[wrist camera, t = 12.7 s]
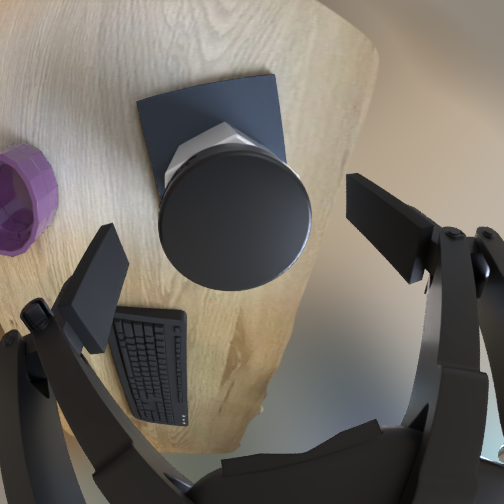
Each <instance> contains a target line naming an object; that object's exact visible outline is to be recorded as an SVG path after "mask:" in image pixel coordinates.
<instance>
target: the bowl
mask: <svg viewBox="0 0 504 504" xmlns="http://www.w3.org/2000/svg"><path fill="white" fill-rule="evenodd" d="M57 206H58V185H57V182H56V179H55V176H54V173H53V170H52V167H51V165H50V164H49V162H48V161H47V160H46V158H45V157H44V156H43V154H42V153H41V152H40V151H39V150H37V149H35V148H33V147H32V146H30V145H28V144H12V145H9V146H7V147H4V148H2V149H0V254H1V255H6V256H11V257H14V256H17V255H20V254H22V253H25V252H26V251H27V250H28V249H29V248H30V246H31V245H32V244H33V243H34V242H35V241H36V239H37V238H38V237H39V236H40V235H41V234H42V233H43V232H44V230H45V229H46V228H47V227H48V226H49V225H50V224H51V223H52V221H53V219H54V215H55V212H56V209H57Z"/></svg>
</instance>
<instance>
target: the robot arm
mask: <svg viewBox="0 0 504 504" xmlns="http://www.w3.org/2000/svg"><path fill="white" fill-rule="evenodd" d="M346 218H347V219H348V220H349V221H350V222H351V223H352V224H353V225H354V226H355V227H356V228H357V229H358V230H359V231H360V232H361V233H362V234H363V235H364V236H365V237H366V238H367V239H368V240H369V241H370V242H371V243H372V244H373V245H374V247H375V248H376V249H377V250H378V251H379V252H380V253H381V254H382V255H383V256H384V257H385V258H386V259H387V260H388V261H389V262H390V264H392V266H393V267H394V268H395V269H396V270H397V271H398V272H399V274H400V275H401V276H402V277H403V278H404V279H405V280H406V281H407V283H409V284H412V283H415V282H418V281H420V280H422V278H423V274H424V270H425V269H426V270H427V271H428V272H429V273H430V275H429V278H428V282H427V285H426V289H425V294H426V293H427V301H426V311H425V321H424V329H423V336H422V343H421V349H420V355H419V361H418V366H417V372H416V376H415V381H414V385H413V390H412V394H411V398H410V402H409V406H408V409H407V412H406V414H405V416H404V419H403V421H402V423H401V425H400V426H397V425H385V426H379V424H378V422H377V420H376V419H374V420H372V421H369V422H367V423H364V424H361V425H359V426H356V427H353V428H351V429H348V430H345V431H342V432H340V433H338V434H337V435H335V436H334V437H332V438H330V439H329V440H327V441H325V442H324V443H322V444H320V445H318V446H317V447H315V448H313V449H311V450H309V451H307V452H305V453H298V454H255V455H249V456H243V457H237V458H231V459H223V460H221V462H222V468H219V469H217V470H215V471H213V472H211V473H209V474H207V475H206V476H204V477H203V478H201V479H200V480H199V481H198V482H196V483H195V484H193V483H192V482H191V481H190V480H189V479H187V478H186V477H185V476H184V475H182V474H181V473H179V472H178V471H177V470H176V469H175V468H174V467H173V466H172V465H171V464H170V463H169V462H168V461H167V460H166V459H165V458H164V457H163V456H162V455H161V454H160V453H159V452H158V451H157V450H156V449H155V448H154V447H153V446H152V445H151V444H150V442H149V441H148V440H147V439H146V438H145V437H144V436H143V435H142V433H141V432H140V431H139V430H138V429H137V428H136V426H135V425H134V424H133V423H132V422H131V420H130V419H129V418H128V417H127V416H126V414H125V413H124V412H123V411H122V409H121V408H120V407H119V405H118V404H117V403H116V401H115V400H114V399H113V397H112V396H111V395H110V393H109V392H108V391H107V389H106V388H105V386H104V385H103V384H102V382H101V381H100V379H99V378H98V376H97V375H96V373H95V372H94V370H93V369H92V367H91V366H90V364H89V363H88V361H87V359H86V358H85V357H84V355H83V354H82V353H81V352H82V348H83V346H84V347H85V348H86V349H87V351H88V352H89V353H90V354H99V353H105V349H106V345H107V341H108V337H109V333H110V329H111V325H112V321H113V317H114V314H115V310H116V306H117V303H118V299H119V296H120V293H121V289H122V286H123V283H124V279H125V276H126V273H127V270H128V267H129V262H128V259H127V257H126V255H125V252H124V250H123V247H122V245H121V243H120V240H119V238H118V235H117V232H116V230H115V227H114V225H113V223H110V224H107V225H103V226H101V227H100V229H99V230H98V232H97V233H96V235H95V237H94V238H93V240H92V242H91V243H90V245H89V247H88V248H87V250H86V252H85V253H84V255H83V257H82V259H81V261H80V262H79V264H78V266H77V268H76V270H75V271H74V273H73V275H72V276H71V277H70V278H69V279H68V280H67V281H66V282H65V283H64V285H63V287H62V289H61V292H60V293H59V295H58V298H57V299H56V301H55V303H54V305H53V307H52V309H51V310H50V308H49V307H48V305H47V304H46V302H45V301H44V299H43V298H36V299H34V300H32V301H30V302H29V303H28V304H27V305H26V306H25V307H24V308H23V309H22V311H21V314H20V318H21V320H22V321H23V322H24V324H25V325H26V327H27V328H28V329H29V331H30V332H31V333H30V334H28V335H26V336H23V337H22V336H21V334H20V333H19V332H18V331H17V330H14V329H13V330H11V331H9V332H8V333H6V334H5V335H4V336H3V337H2V339H1V341H0V468H1V474H2V479H3V484H4V489H5V494H6V498H7V502H8V504H86V502H85V499H84V497H83V494H82V492H81V489H80V486H79V484H78V481H77V478H76V475H75V472H74V469H73V467H72V463H71V460H70V457H69V453H68V450H67V446H66V442H65V439H64V435H63V431H62V426H61V422H60V417H59V412H58V407H57V402H58V404H59V406H60V408H61V410H62V412H63V414H64V416H65V418H66V420H67V422H68V424H69V426H70V428H71V430H72V432H73V433H74V435H75V437H76V439H77V441H78V442H79V444H80V446H81V447H82V449H83V451H84V452H85V454H86V456H87V457H88V459H89V460H90V462H91V463H92V465H93V467H94V469H95V473H94V474H92V476H93V480H94V481H95V483H96V485H97V486H98V488H99V489H100V490H101V492H102V494H103V495H104V496H105V497H106V499H107V500H108V502H109V503H110V504H504V465H503V464H500V463H497V462H495V461H492V460H489V459H486V458H483V457H481V456H480V455H481V451H482V445H483V438H484V432H485V424H486V415H487V404H488V388H489V380H488V375H487V374H486V373H483V372H480V338H479V326H480V329H481V332H482V336H483V339H484V343H485V347H486V351H487V354H488V358H489V362H490V367H491V372H492V377H493V382H494V387H495V393H496V398H497V406H498V412H499V418H500V424H501V428H502V432H503V436H504V241H503V240H502V238H501V237H500V236H499V234H498V233H497V232H496V231H494V230H493V229H491V228H489V227H479V228H477V231H476V235H475V237H466V235H465V234H464V233H463V232H462V231H461V230H459V229H457V228H454V227H443V228H442V227H440V226H439V225H437V224H436V223H435V222H434V221H432V220H431V219H430V218H428V217H426V215H424V214H423V213H421V212H420V211H419V210H417V209H416V208H414V207H412V206H409V205H407V204H405V203H403V202H402V201H400V200H399V199H397V198H396V197H394V196H393V195H391V194H390V193H388V192H387V191H385V190H384V189H382V188H381V187H379V186H378V185H376V184H374V183H373V182H372V181H370V180H368V179H367V178H365V177H363V176H362V175H360V174H359V173H354V174H346ZM488 274H489V276H488ZM56 400H57V402H56ZM498 453H499V454H498V457H499V460H500V461H501V462H504V445H503V446H502V447H501V448H500V450H499V452H498Z"/></svg>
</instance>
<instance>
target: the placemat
mask: <svg viewBox="0 0 504 504" xmlns="http://www.w3.org/2000/svg"><path fill="white" fill-rule="evenodd" d="M137 106H138V111H139V115H140V120H141V124H142V129H143V133H144V137H145V141H146V145H147V150H148V154H149V158H150V161H151V165H152V169H153V173H154V177H155V180H156V184H157V188H158V191H159V195H160V198H161V200H162V196H163V193H164V191H165V173H166V171H167V168H168V166H169V164H170V162H171V160H172V158H173V156H174V154H175V152H176V150H177V148H178V146H180V145H181V144H183V143H185V142H187V141H188V140H190V139H192V138H194V137H196V136H198V135H199V134H201V133H203V132H205V131H207V130H209V129H211V128H213V127H215V126H217V125H219V124H221V123H223V122H227V123H228V124H230V125H232V126H233V127H235V128H236V129H238V130H240V131H241V132H243V133H244V134H246V135H247V136H249V137H251V138H252V139H254V140H255V141H257V142H258V143H260V144H261V145H263V146H264V147H266V148H267V149H268V150H270V151H271V152H272V153H273V154H275V155H276V156H277V157H278V158H279V159H281V160H282V161H283V162H284V163H285V164H287V163H286V154H285V145H284V137H283V129H282V121H281V113H280V106H279V99H278V92H277V85H276V78H275V74H271V75H261V76H253V77H245V78H238V79H231V80H225V81H219V82H213V83H208V84H203V85H198V86H193V87H189V88H184V89H180V90H176V91H172V92H168V93H164V94H160V95H156V96H153V97H149V98H146V99H142V100H139V101H137Z"/></svg>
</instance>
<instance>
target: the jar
mask: <svg viewBox="0 0 504 504" xmlns="http://www.w3.org/2000/svg"><path fill="white" fill-rule="evenodd" d="M311 224H312V210H311V204H310V200H309V197H308V194H307V192H306V189H305V187H304V186H303V184H302V182H301V181H300V177H299V175H298V174H297V173H296V172H295V171H294V170H292V169H291V168H290V167H289V166H288V165H287V164H285V163H284V162H283V161H282V160H281V159H279V158H278V157H277V156H276V155H275V154H273V153H272V152H271V151H270V150H268V149H267V148H266V147H264V146H263V145H261V144H260V143H258V142H257V141H255V140H254V139H252V138H251V137H249V136H247V135H246V134H244V133H243V132H241V131H240V130H238V129H236V128H235V127H233V126H232V125H230V124H228V123H227V122H223V123H221V124H219V125H217V126H215V127H213V128H211V129H209V130H207V131H205V132H203V133H201V134H199V135H198V136H196V137H194V138H192V139H190V140H188V141H187V142H185V143H183V144H181V145H180V146H178V148H177V150H176V152H175V154H174V156H173V158H172V160H171V162H170V164H169V166H168V168H167V171H166V173H165V191H164V193H163V196H162V200H161V202H160V211H159V215H158V231H159V238H160V242H161V245H162V248H163V250H164V252H165V254H166V256H167V258H168V259H169V261H170V262H171V263H172V265H173V266H174V267H175V268H176V269H177V270H178V271H179V272H180V273H181V274H182V275H183V276H185V277H186V278H188V279H189V280H191V281H193V282H194V283H197V284H199V285H201V286H204V287H207V288H210V289H214V290H220V291H241V290H247V289H252V288H255V287H259V286H261V285H264V284H266V283H268V282H270V281H272V280H274V279H275V278H277V277H279V276H280V275H281V274H283V273H284V272H285V271H286V270H287V269H289V268H290V267H291V266H292V265H293V263H294V262H295V261H296V260H297V259H298V257H299V256H300V254H301V253H302V251H303V249H304V247H305V245H306V243H307V240H308V238H309V234H310V230H311Z"/></svg>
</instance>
